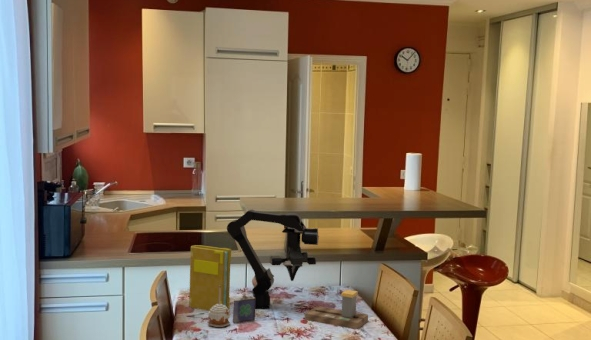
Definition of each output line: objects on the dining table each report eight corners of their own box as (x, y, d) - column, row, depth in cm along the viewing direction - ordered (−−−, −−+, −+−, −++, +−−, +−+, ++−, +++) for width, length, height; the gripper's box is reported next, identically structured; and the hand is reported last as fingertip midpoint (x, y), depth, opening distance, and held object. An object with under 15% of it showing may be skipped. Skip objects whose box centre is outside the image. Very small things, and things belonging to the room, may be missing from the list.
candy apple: (230, 327, 216) (232, 287, 215) (210, 328, 213) (211, 288, 213) (227, 321, 223) (228, 282, 222) (207, 322, 221) (208, 283, 220)
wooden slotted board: (304, 319, 228) (305, 312, 228) (316, 311, 239) (317, 305, 239) (357, 329, 219) (357, 322, 219) (367, 320, 230) (368, 314, 229)
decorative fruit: (263, 296, 260) (264, 274, 259) (248, 293, 264) (249, 271, 264) (275, 291, 268) (275, 270, 267) (260, 288, 272) (261, 267, 272)
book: (229, 309, 239) (231, 249, 237) (220, 313, 232) (222, 251, 231) (195, 302, 246) (196, 244, 244) (185, 306, 240) (187, 247, 238)
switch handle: (340, 320, 225) (341, 292, 224) (345, 316, 230) (346, 289, 230) (351, 322, 223) (352, 294, 223) (356, 318, 228) (357, 291, 228)
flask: (234, 323, 220) (235, 296, 220) (231, 321, 223) (232, 294, 222) (256, 320, 225) (257, 293, 224) (252, 318, 227) (253, 291, 227)
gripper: (275, 247, 230) (274, 286, 231) (320, 246, 235) (319, 284, 236) (269, 242, 241) (268, 279, 242) (312, 241, 246) (311, 278, 246)
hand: (292, 280), depth 241 cm, fingers closed
